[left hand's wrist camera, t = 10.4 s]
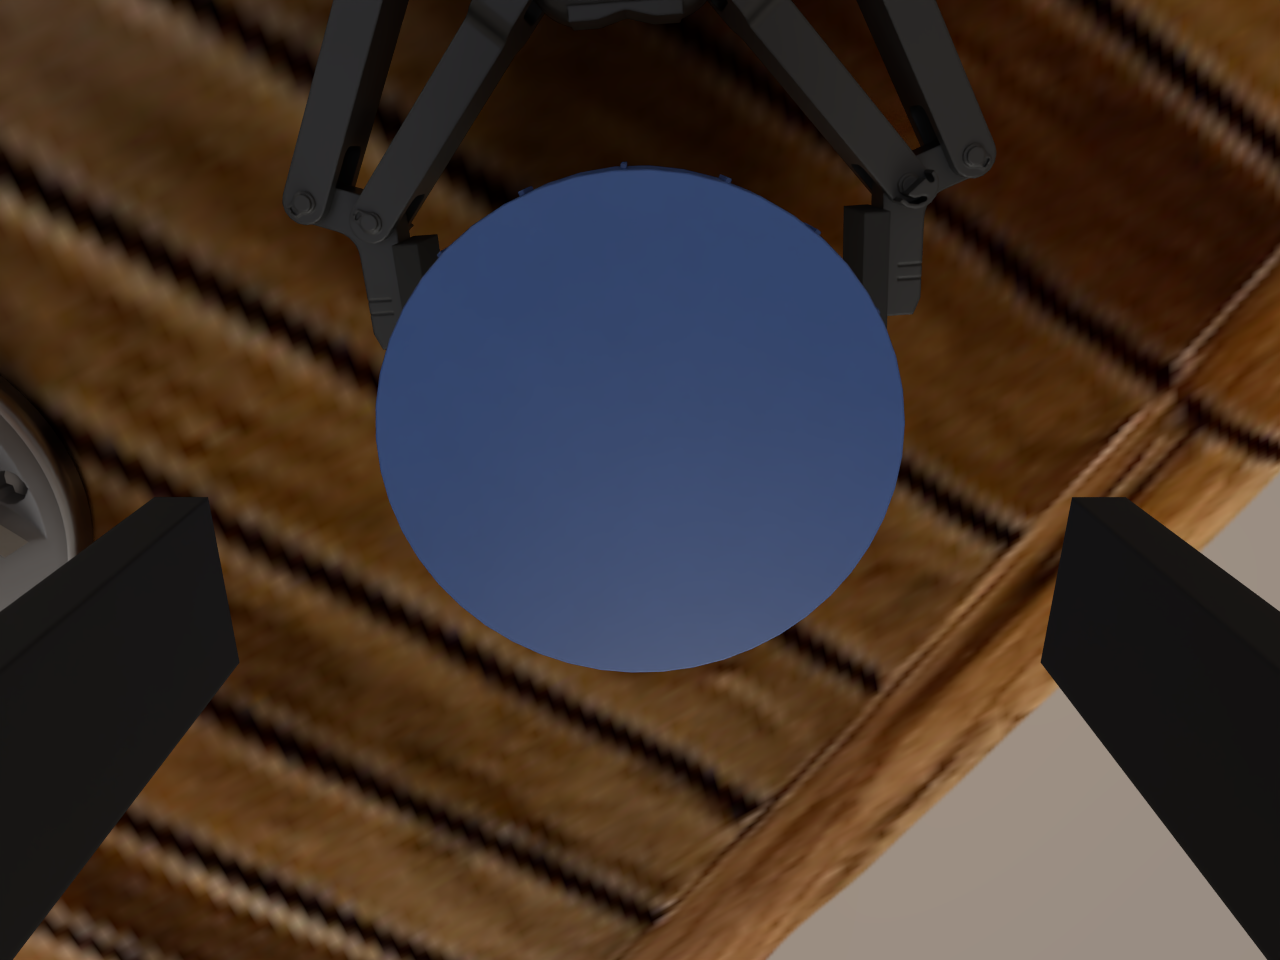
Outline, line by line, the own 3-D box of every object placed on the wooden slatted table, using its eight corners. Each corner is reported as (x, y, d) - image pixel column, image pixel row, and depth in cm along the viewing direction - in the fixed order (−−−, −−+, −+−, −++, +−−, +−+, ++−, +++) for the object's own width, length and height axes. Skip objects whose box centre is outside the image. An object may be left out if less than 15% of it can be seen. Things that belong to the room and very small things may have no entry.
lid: (411, 620, 22) (389, 667, 20) (381, 152, 18) (349, 154, 16) (848, 633, 23) (868, 682, 21) (911, 171, 19) (945, 176, 17)
